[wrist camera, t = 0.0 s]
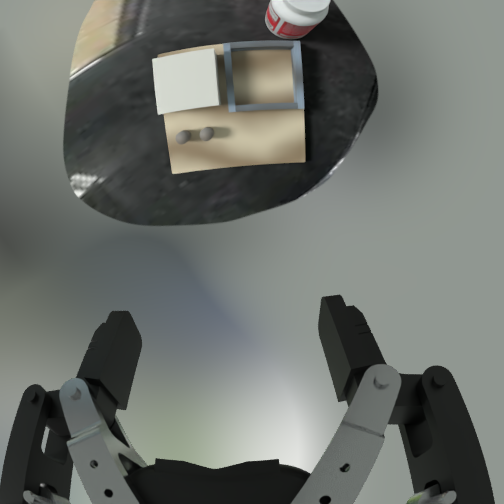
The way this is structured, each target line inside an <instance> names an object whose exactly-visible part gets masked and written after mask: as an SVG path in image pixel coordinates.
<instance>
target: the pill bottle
mask: <svg viewBox="0 0 504 504" xmlns="http://www.w3.org/2000/svg"><path fill="white" fill-rule="evenodd" d="M329 3H330V0H271V1H270V3H269V6H268V9H267V12H266V16H265V22H266V25H267V27H268V28H269V30H270V31H271V32H272V33H273V34H275V35H276V36H278V37H281V38H284V39H290V40H292V39H298V38H301V37H303V36H305V35H306V34H308V33H309V32H310V31H311V30H312V29H313V28H314V27H315V26H317V25H318V24H319V23H320V22H321V21H322V20H323V19H324V18H325V17H326V15H327V13H328V8H329V6H328V5H329Z"/></svg>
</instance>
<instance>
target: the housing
mask: <svg viewBox="0 0 504 504" xmlns="http://www.w3.org/2000/svg"><path fill="white" fill-rule="evenodd" d="M152 62H153V73H154V84H155V93H156V102H157V111H158V115H159V114H165V113H170V112H175V111H181V110H187V109H194V108H201V107H208V106H217V105H221V98H220V87H219V75H218V64H217V54H216V52H215V49H214V48H211V49H204V50H197V51H191V52H185V53H179V54H174V55H169V56H164V57H160V58H155V59H152Z"/></svg>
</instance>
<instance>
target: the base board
mask: <svg viewBox="0 0 504 504" xmlns="http://www.w3.org/2000/svg"><path fill="white" fill-rule="evenodd" d="M211 48H214V49H215V52H216V54H217V64H218V75H219V87H220V98H221V105H217V106H208V107H201V108H194V109H187V110H181V111H175V112H170V113H165V114H164V119H165V127H166V134H167V141H168V148H169V155H170V161H171V167H172V173H173V174H177V173H184V172H191V171H199V170H207V169H216V168H225V167H235V166H247V165H259V164H274V163H293V162H305V124H304V90H303V73H302V59H301V47H300V41H246V42H232V43H223V44H218V45H209V46H202V47H195V48H189V49H183V50H178V51H173V52H168V53H163V54H159V55H158V58H160V57H164V56H169V55H174V54H179V53H185V52H191V51H197V50H204V49H211Z"/></svg>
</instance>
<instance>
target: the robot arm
mask: <svg viewBox="0 0 504 504" xmlns="http://www.w3.org/2000/svg"><path fill="white" fill-rule="evenodd" d="M318 330H319V336H320V340H321V343H322V346H323V350H324V353H325V357H326V360H327V363H328V367H329V370H330V374H331V377H332V380H333V385H334V388H335V392H336V395H337V399H338V402H341V401H346V400H347V404H348V407H349V408H348V410H347V412H346V414H345V416H344V418H343V420H342V422H341V424H340V426H339V427H338V429H337V431H336V433H335V435H334V437H333V438H332V440H331V442H330V444H329V445H328V447H327V449H326V451H325V452H324V454H323V456H322V457H321V459H320V461H319V462H318V464H317V465H316V467H315V469H314V470H313V472H312V473H311V474H310V473H308V472H307V471H304V470H302V469H300V468H297V467H293V466H289V465H282V464H279V459H274V460H263V461H248V462H244V463H240V464H236V465H232V466H228V467H224V468H219V469H211V468H207V467H203V466H199V465H196V464H192V463H188V462H185V461H177V460H165V459H157V458H156V460H155V464H154V465H149V466H148V465H147V464H146V463H145V461H144V460H143V459H142V458H141V457H140V456H139V455H138V453H137V452H136V451H135V449H134V448H133V446H132V444H131V442H130V441H129V439H128V437H127V435H126V433H125V431H124V429H123V428H122V426H121V424H120V422H119V420H118V418H117V416H116V415H115V414H116V410H117V409H121V410H126V408H127V404H128V399H129V395H130V391H131V387H132V383H133V379H134V375H135V371H136V367H137V363H138V359H139V356H140V352H141V348H142V339H141V335H140V333H139V331H138V329H137V327H136V325H135V322H134V320H133V318H132V316H131V314H130V313H129V311H112V312H111V313H110V314H109V316H108V319H107V321H106V323H102V324H101V325H100V326H99V328H98V329H97V330H96V331H95V333H94V335H93V337H92V340H91V343H90V344H89V347H88V350H87V352H86V354H85V356H84V359H83V361H82V364H81V366H80V369H79V371H78V374H77V377H76V378H73V379H70V380H68V381H66V382H65V383H64V384H63V386H62V387H61V389H60V390H55V391H49V392H46V391H45V390H44V389H43V388H42V387H41V386H40V385H37V384H34V385H31V386H29V387H28V388H27V389H26V390H25V392H24V393H23V396H22V399H21V402H20V405H19V408H18V411H17V414H16V417H15V420H14V424H13V427H12V431H11V434H10V438H9V442H8V446H7V451H6V456H5V460H4V465H3V471H2V477H1V484H0V504H70V502H69V496H70V485H71V477H72V470H73V463H74V465H75V467H76V470H77V472H78V474H79V476H80V479H81V481H82V483H83V485H84V488H85V490H86V492H87V494H88V496H89V498H90V500H91V502H92V504H353V503H354V501H355V500H356V498H357V496H358V494H359V492H360V491H361V489H362V487H363V485H364V483H365V481H366V479H367V477H368V475H369V473H370V471H371V469H372V467H373V465H374V463H375V461H376V459H377V457H378V454H379V452H380V450H381V448H382V445H383V442H384V438H385V437H384V431H385V429H386V426H387V424H398V426H399V429H400V433H401V437H402V440H403V444H404V448H405V452H406V456H407V461H408V465H409V469H410V474H411V479H412V484H413V488H414V495H413V496H412V497H411V498H410V499H409V500H408V501H407V503H406V504H495V502H494V497H493V491H492V487H491V482H490V478H489V475H488V470H487V467H486V463H485V460H484V456H483V453H482V450H481V446H480V443H479V440H478V437H477V434H476V432H475V429H474V426H473V423H472V421H471V418H470V415H469V413H468V410H467V408H466V405H465V403H464V400H463V398H462V396H461V393H460V391H459V389H458V386H457V384H456V382H455V380H454V378H453V376H452V374H451V373H450V372H449V370H447V369H446V368H444V367H442V366H431V367H429V368H428V369H426V370H425V372H424V373H423V374H422V375H420V374H400V373H398V372H397V370H396V369H394V368H393V367H391V366H389V365H387V364H386V362H385V360H384V358H383V356H382V354H381V351H380V349H379V347H378V345H377V343H376V341H375V338H374V336H373V334H372V333H371V330H370V328H369V326H368V325H367V322H366V319H365V317H364V315H363V313H362V312H360V311H359V310H358V309H357V308H356V307H355V306H354V305H353V306H346V305H345V302H344V300H343V298H342V296H341V295H334V296H326V297H322V299H321V306H320V314H319V322H318ZM45 427H48V428H49V429H50V430H49V434H48V439H47V443H46V448H45V453H43V452H42V449H41V444H42V439H43V435H44V431H45Z"/></svg>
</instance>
